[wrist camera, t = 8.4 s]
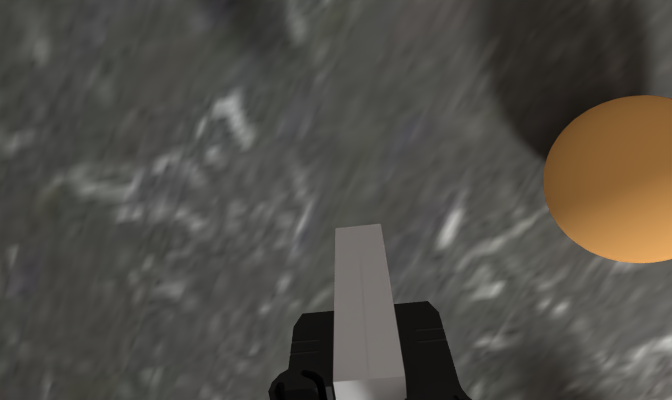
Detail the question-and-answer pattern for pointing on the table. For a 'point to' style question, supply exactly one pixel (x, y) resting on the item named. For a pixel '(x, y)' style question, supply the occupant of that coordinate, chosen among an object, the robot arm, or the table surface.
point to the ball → (615, 179)
